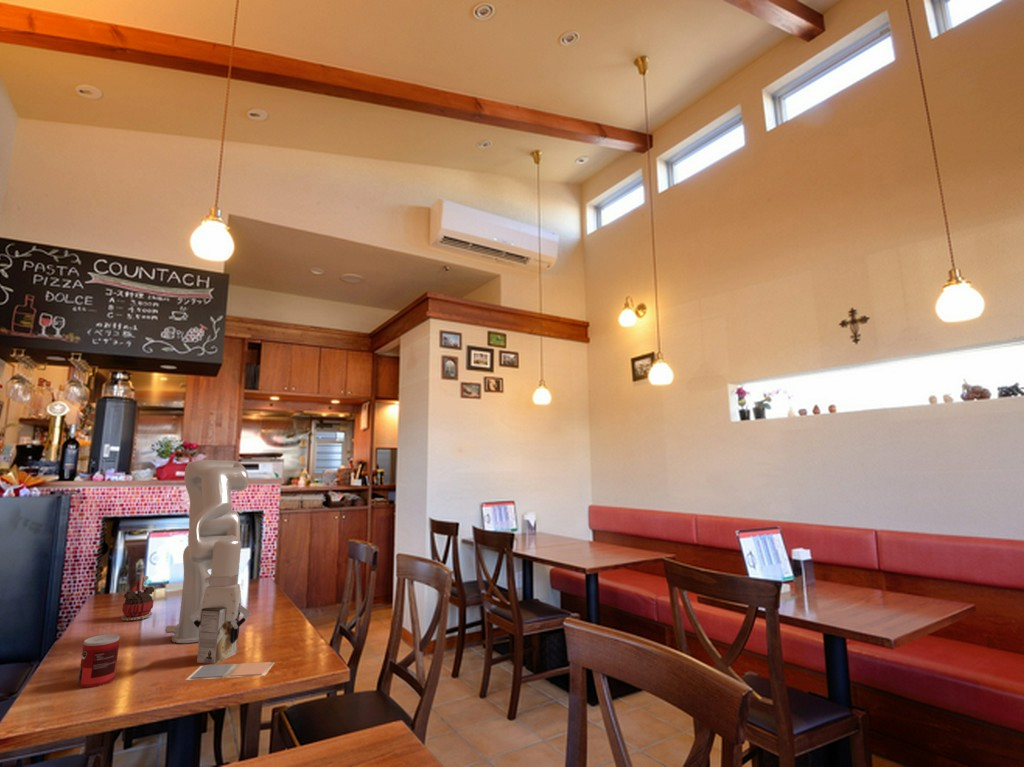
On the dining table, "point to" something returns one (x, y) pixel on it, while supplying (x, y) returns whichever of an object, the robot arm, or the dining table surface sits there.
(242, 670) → the terracotta pad
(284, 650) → the dining table surface
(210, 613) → the coffee box
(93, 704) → the dining table surface
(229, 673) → the serving board
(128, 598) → the cake
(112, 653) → the canned food
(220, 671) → the slate pad
